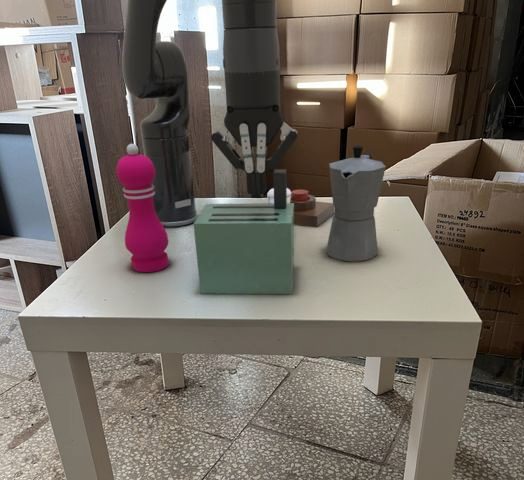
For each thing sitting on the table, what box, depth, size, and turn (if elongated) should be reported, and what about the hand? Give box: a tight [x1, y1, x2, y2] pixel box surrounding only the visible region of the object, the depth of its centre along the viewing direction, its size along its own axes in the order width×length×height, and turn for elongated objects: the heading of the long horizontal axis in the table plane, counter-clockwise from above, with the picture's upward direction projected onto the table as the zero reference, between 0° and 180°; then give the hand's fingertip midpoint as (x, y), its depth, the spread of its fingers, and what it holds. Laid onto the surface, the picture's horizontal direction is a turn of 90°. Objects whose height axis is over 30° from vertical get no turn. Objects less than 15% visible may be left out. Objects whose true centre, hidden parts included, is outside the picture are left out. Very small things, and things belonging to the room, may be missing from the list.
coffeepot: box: [326, 144, 387, 263], centre depth 88 cm, size 15×9×18 cm, turn 157°
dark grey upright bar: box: [272, 168, 288, 208], centre depth 78 cm, size 2×2×5 cm
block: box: [291, 194, 335, 228], centre depth 110 cm, size 12×10×4 cm
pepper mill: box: [115, 143, 170, 273], centre depth 85 cm, size 7×7×20 cm
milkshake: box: [266, 187, 292, 203], centre depth 99 cm, size 4×5×10 cm
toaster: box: [192, 202, 295, 295], centre depth 80 cm, size 14×10×11 cm
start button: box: [291, 189, 310, 201], centre depth 109 cm, size 4×4×2 cm
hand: (257, 196), depth 79 cm, fingers closed
